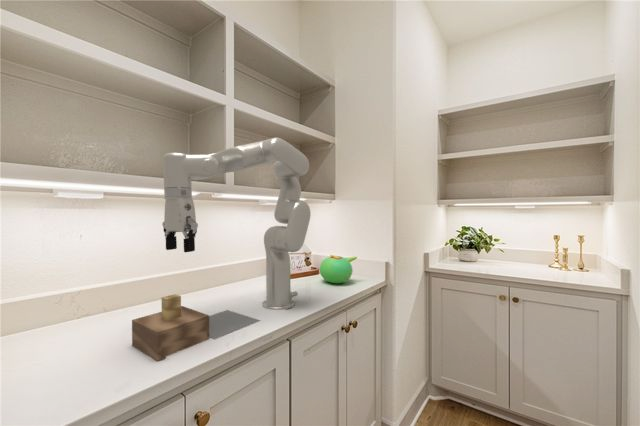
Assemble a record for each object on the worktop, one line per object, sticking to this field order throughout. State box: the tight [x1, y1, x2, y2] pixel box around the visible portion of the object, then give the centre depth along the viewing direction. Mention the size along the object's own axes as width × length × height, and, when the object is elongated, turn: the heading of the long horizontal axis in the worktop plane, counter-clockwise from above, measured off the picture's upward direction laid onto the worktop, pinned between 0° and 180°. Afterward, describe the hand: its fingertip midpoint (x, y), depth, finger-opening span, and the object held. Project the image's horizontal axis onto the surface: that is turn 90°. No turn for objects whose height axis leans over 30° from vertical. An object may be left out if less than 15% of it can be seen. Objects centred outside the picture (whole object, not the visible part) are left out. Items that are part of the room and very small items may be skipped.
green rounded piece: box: [319, 254, 358, 284], centre depth 154 cm, size 18×17×15 cm
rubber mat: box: [209, 309, 262, 340], centre depth 97 cm, size 18×18×1 cm
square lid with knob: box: [131, 293, 210, 362], centre depth 84 cm, size 15×15×13 cm
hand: (180, 250), depth 90 cm, fingers open, 9 cm apart
